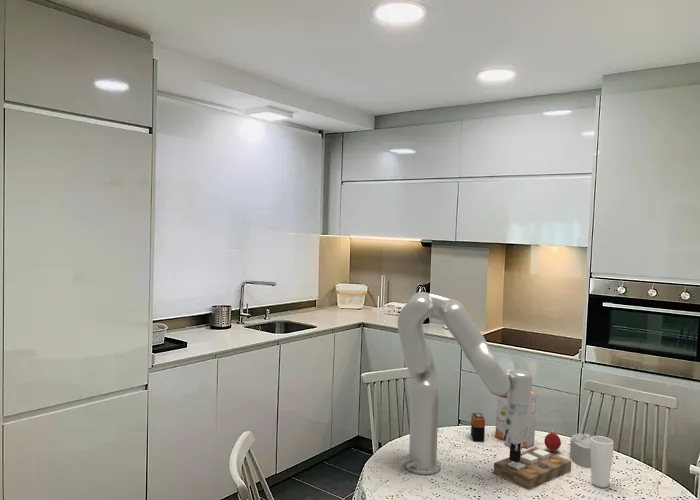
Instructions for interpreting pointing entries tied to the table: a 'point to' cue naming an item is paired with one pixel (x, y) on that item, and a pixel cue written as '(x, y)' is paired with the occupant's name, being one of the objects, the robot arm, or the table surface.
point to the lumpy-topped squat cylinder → (581, 450)
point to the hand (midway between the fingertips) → (514, 460)
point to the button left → (516, 465)
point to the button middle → (529, 459)
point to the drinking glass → (601, 460)
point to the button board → (533, 470)
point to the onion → (552, 441)
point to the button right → (541, 454)
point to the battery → (477, 427)
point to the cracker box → (501, 414)
